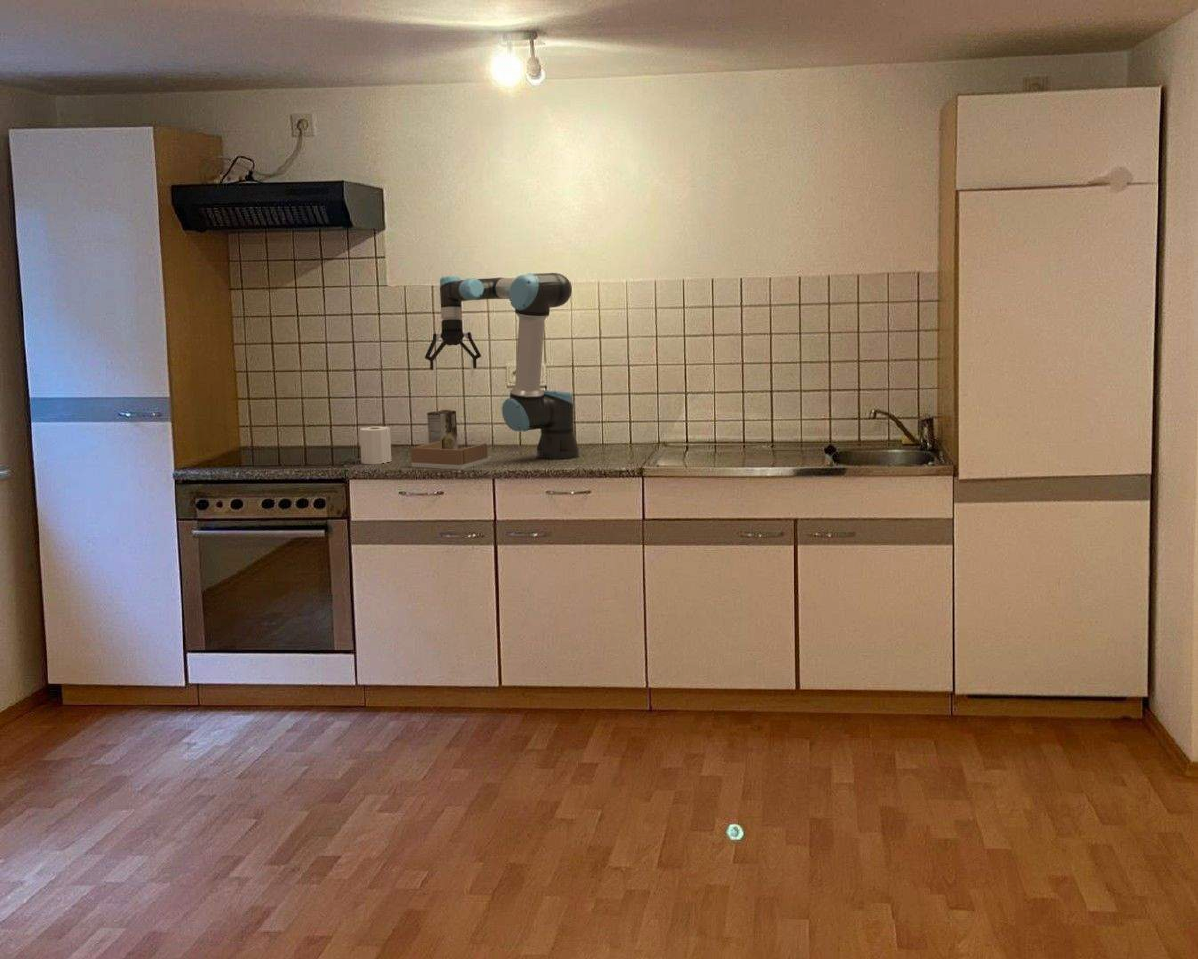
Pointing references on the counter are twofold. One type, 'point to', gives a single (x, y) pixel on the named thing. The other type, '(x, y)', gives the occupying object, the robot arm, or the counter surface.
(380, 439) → the toilet paper
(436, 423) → the coffee box
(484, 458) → the tray
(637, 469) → the counter surface
